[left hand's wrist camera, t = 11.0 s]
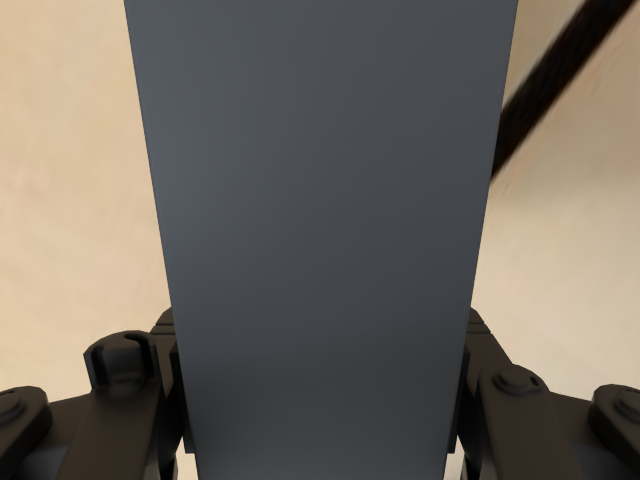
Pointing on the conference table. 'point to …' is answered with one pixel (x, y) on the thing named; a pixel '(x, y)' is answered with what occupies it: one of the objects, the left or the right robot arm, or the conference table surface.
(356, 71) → the bar
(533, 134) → the conference table surface
